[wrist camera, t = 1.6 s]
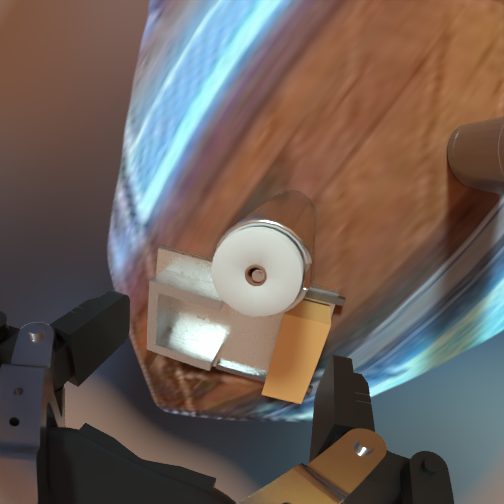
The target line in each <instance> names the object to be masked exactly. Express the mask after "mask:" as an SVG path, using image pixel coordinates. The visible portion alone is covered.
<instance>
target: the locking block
mask: <svg viewBox="0 0 504 504" xmlns="http://www.w3.org/2000/svg"><path fill="white" fill-rule="evenodd" d="M330 327H331V314H330V306H326V305H322V304H318V303H313V302H309V301H305V300H301V301H300V302H299V303H298V304H297V305H296V306H295V307H294V308H292V309H290V310H288V311H286V312H285V313H284V316H283V320H282V323H281V327H280V331H279V334H278V338H277V342H276V345H275V349H274V352H273V356H272V359H271V363H270V366H269V370H268V373H267V377H266V380H265V384H264V388H263V391H262V395H265V396H269V397H273V398H277V399H281V400H286V401H290V402H294V403H299V404H301V403H302V401H303V398H304V396H305V393H306V391H307V388H308V386H309V383H310V381H311V378H312V376H313V373H314V371H315V368H316V365H317V363H318V360H319V357H320V355H321V352H322V349H323V347H324V344H325V341H326V338H327V335H328V333H329V330H330Z"/></svg>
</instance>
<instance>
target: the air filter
mask: <svg viewBox="0 0 504 504" xmlns="http://www.w3.org/2000/svg"><path fill="white" fill-rule="evenodd" d="M314 227H315V208H314V205H313V203H312V202H311V200H310V199H309V198H308V197H307V196H306V195H305V194H303V193H301V192H299V191H295V190H286V191H283V192H281V193H279V194H277V195H276V196H274V197H273V198H272V199H270V200H269V201H267V202H266V203H265V204H263V205H262V206H260V207H259V208H258V209H256V210H255V211H253V212H252V213H251V214H249V215H248V216H247V217H245V218H244V219H242V220H241V221H240V222H238V223H237V224H236V225H234V226H233V227H231V228H230V229H229V230H227V232H226V233H225V234H224V235H223V236H222V237H221V238H220V240H219V241H218V244H217V246H216V248H215V250H214V252H216V253H215V255H214V258H213V262H212V268H211V272H212V279H213V283H214V286H215V289H216V292H217V293H218V294H219V296H220V297H221V298H222V300H223V301H224V302H225V303H226V304H228V305H229V306H230V307H231V308H233V309H234V310H236V311H238V312H240V313H241V314H244V315H248V316H252V317H265V316H274V315H279V314H283V313H285V312H286V311H288V310H290V309H292V308H294V307H295V306H296V305H297V304H298V303H299V302H300V301H301V300H303V298H304V297H305V295H306V293H307V292H308V290H309V288H310V275H311V263H313V249H314Z"/></svg>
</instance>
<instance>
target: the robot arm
mask: <svg viewBox="0 0 504 504" xmlns="http://www.w3.org/2000/svg"><path fill="white" fill-rule="evenodd" d="M447 155H448V162H449V166H450V168H451V170H452V173H453V174H454V176H455V177H456V178H457V179H458V180H459V181H460V182H461V183H462V184H463V185H465V186H467V187H470V188H474V189H479V190H483V191H488V192H493V193H497V194H502V195H504V117H499V118H494V119H490V120H485V121H481V122H476V123H472V124H467V125H464V126H461V127H459V128H458V129H456V130H455V131H454V133H453V134H452V136H451V138H450V139H449V143H448V150H447ZM129 328H130V299H129V297H128V296H127V295H125V294H122V293H119V292H116V291H114V290H110V291H108V292H107V293H106V294H104V295H102V296H101V297H97V298H93V299H90V300H87V301H85V302H83V303H82V304H81V305H79V306H78V307H76V308H74V309H73V310H72V311H70V312H68V313H67V314H65V315H64V316H62V317H61V318H59V319H57V320H56V321H55V322H53V323H52V324H50V325H48V324H45V323H41V322H34V323H30V324H27V325H25V326H23V327H22V328H21V329H18V328H15V327H11V326H8V322H7V317H6V315H5V314H4V313H3V312H1V311H0V504H454V500H453V493H452V488H451V482H450V477H449V472H448V468H447V465H446V463H445V461H444V460H443V459H442V458H441V457H440V456H439V455H437V454H435V453H433V452H429V451H421V452H418V453H416V454H415V455H413V457H412V458H411V459H408V458H405V457H402V456H399V455H396V454H394V453H391V452H389V451H388V450H387V447H386V443H385V442H384V440H383V439H382V438H381V437H380V436H379V435H378V434H377V433H375V428H374V421H373V414H372V406H371V404H370V403H371V399H370V396H369V394H370V393H369V386H368V383H367V382H366V380H365V379H364V377H363V376H362V374H358V373H353V365H352V359H351V358H346V357H341V356H337V355H331V357H330V359H329V361H328V363H327V366H326V368H325V371H324V373H323V376H322V378H321V381H320V383H319V386H318V388H317V392H316V395H315V401H314V414H313V427H312V439H311V448H310V459H309V464H307V465H304V464H302V463H301V464H299V465H297V466H295V467H294V468H292V469H291V470H289V471H288V472H286V473H285V474H283V475H282V476H281V477H279V478H277V479H276V480H274V481H273V482H271V483H270V484H268V485H267V486H265V487H263V488H262V489H261V490H258V491H257V492H255V493H254V494H252V495H250V496H249V497H247V498H245V499H243V500H242V501H240V502H238V503H236V502H235V501H233V500H232V499H231V498H230V497H228V496H227V495H226V494H224V493H223V492H221V491H219V490H218V489H216V488H214V486H215V482H216V478H214V477H210V476H207V475H204V474H201V473H198V472H195V471H192V470H189V469H186V468H183V467H181V466H174V465H169V464H163V463H157V462H152V461H147V460H143V459H141V458H139V457H138V456H136V455H135V454H134V453H132V452H131V451H130V450H128V449H127V448H126V447H125V446H123V445H122V444H121V443H120V442H118V441H117V440H116V439H115V438H113V437H111V436H109V435H107V434H105V433H103V432H101V431H100V430H98V429H96V428H94V427H92V426H90V425H89V424H87V423H85V424H84V425H83V426H82V427H81V428H80V430H78V429H73V428H66V426H65V387H64V384H65V383H66V382H67V381H69V382H71V383H72V384H74V385H76V386H79V385H80V384H82V382H84V381H85V380H86V379H87V378H88V377H89V376H90V375H91V374H92V373H93V372H94V371H95V370H96V369H97V368H98V367H99V366H100V365H101V364H102V363H103V362H104V361H105V360H106V359H107V358H108V357H109V356H111V355H112V353H114V352H115V351H116V350H117V349H118V348H119V347H120V346H121V345H122V344H123V343H124V342H125V340H126V339H127V337H128V334H129Z"/></svg>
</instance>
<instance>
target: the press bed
mask: <svg viewBox="0 0 504 504" xmlns="http://www.w3.org/2000/svg"><path fill="white" fill-rule="evenodd" d="M212 262H213V259H212V258H208V257H204V256H201V255H197V254H193V253H189V252H185V251H181V250H178V249H174V248H170V247H166V246H162V247H160V248H159V249H158V259H157V271H156V276H155V277H154V278H152V279H151V280H150V285H149V302H148V325H147V349H148V350H150V351H153V352H156V353H158V354H161V355H164V356H167V357H169V358H172V359H175V360H178V361H181V362H184V363H187V364H190V365H193V366H196V367H199V368H202V369H205V370H208V371H210V370H211V368H212V366H214V367H216V369H219V370H222V371H225V372H229V373H232V374H236V375H239V376H243V377H246V378H250V379H254V380H257V381H261V382H265V380H266V377H267V373H268V370H269V366H270V363H271V359H272V356H273V352H274V349H275V345H276V342H277V338H278V334H279V331H280V327H281V323H282V320H283V316H284V313H283V314H279V315H274V316H265V317H252V316H248V315H244V314H241V313H240V312H238V311H236V310H234V309H233V308H231V307H230V306H229V305H228V304H226V303H225V302H224V301H223V300H222V298H221V297H220V296H219V294H218V293H217V292H216V289H215V286H214V283H213V279H212V272H211V268H212ZM338 295H339V292H338V290H336V289H332V288H328V287H324V286H320V285H316V284H311V283H310V288H309V290H308V292H307V293H306V295H305V297H304V298H303V300H305V301H309V302H313V303H318V304H322V305H326V306H330V314H331V316H332V313H333V310H334V307H335V305H340V306H343V305H344V302H345V298H344V297H340V296H338ZM312 387H313V386H311V385H309V386H308V388H307V391H306V392H307V393H311V391H312Z"/></svg>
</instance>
